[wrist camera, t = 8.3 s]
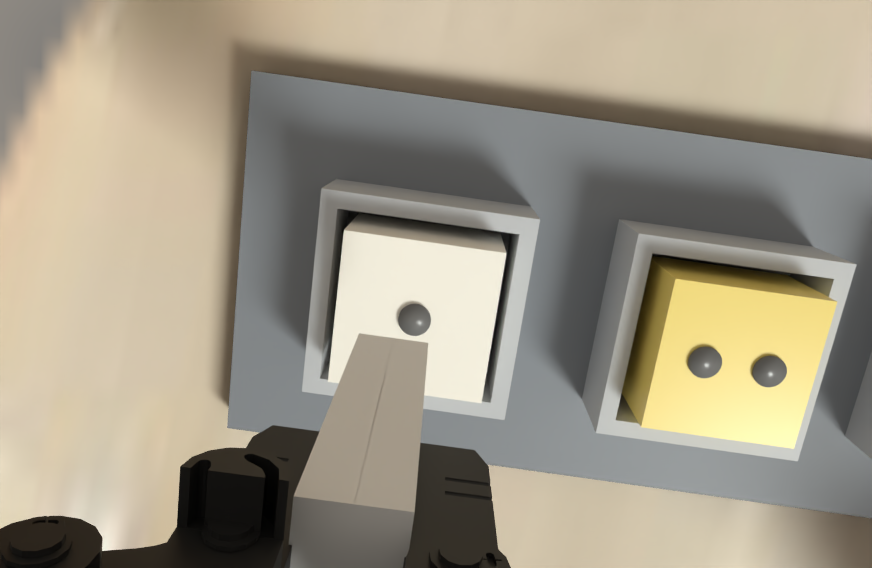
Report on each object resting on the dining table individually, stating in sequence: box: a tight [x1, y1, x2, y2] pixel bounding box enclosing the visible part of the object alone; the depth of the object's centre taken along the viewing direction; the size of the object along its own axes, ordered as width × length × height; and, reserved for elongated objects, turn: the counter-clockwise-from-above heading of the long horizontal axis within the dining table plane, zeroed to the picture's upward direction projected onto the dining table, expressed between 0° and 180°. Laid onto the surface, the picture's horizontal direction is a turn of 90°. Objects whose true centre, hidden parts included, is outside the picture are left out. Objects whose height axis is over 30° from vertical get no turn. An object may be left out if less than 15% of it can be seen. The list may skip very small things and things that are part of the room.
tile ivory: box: [328, 213, 507, 403], centre depth 21 cm, size 4×4×3 cm
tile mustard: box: [622, 256, 837, 449], centre depth 21 cm, size 4×4×3 cm
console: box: [227, 71, 872, 518], centre depth 22 cm, size 30×12×4 cm, turn 82°
